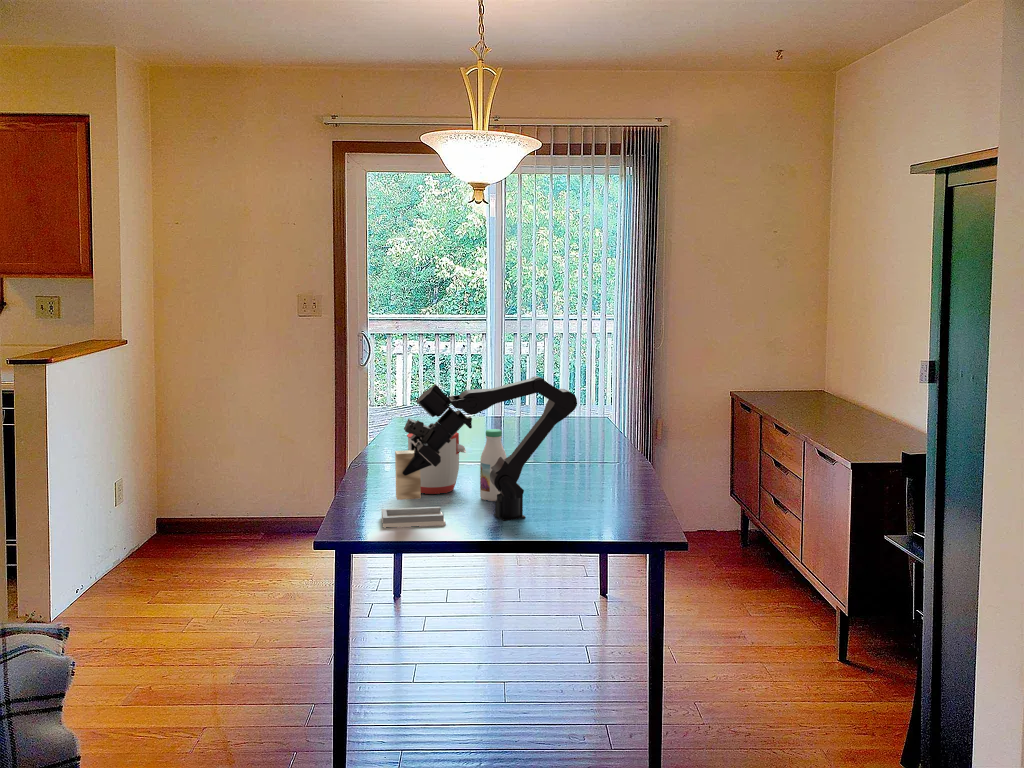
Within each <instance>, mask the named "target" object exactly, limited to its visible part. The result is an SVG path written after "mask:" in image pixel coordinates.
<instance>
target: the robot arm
mask: <svg viewBox="0 0 1024 768" xmlns="http://www.w3.org/2000/svg"><path fill="white" fill-rule="evenodd" d="M534 394H539V395H541V396H542V397H544V398H545V399H547V401H546V404H545V407H544V410H543V413H542V415H541V416H540V417H539V418H538V419H537V421H536V422H535V424H533V426H532V427H531V429H529V431H528V432H527V434H526V435H525V436H524V437H523V439H522V440H521V441H520V443H519V444H518V445H517V447H516V448H515V449H514V450H513V452H512V453H511V454H510V455H509V456H508V457H507V456H506V457H507V458H506V459H503V458H502V457H499V459H498V461H497V462H496V464H495V465H494V466H492V467H491V469H492V471H491V473H490V480H491V483H492V484H493V485H494V486H495V487H496V488H497V489H498V491H499V492H500V494H497V500H496V501H494V502H495V503H494V504H495V505H494V506H495V507H494V508H495V509H494V513H493V516H495V517H496V518H498V519H499V520H502V521H504V522H507V521H508V522H509V521H514V520H522V519H526V515H523V514H524V513H523V512H524V511H523V509H524V508H523V506H524V504H523V503H524V502H523V501H524V499H523V497H524V492H525V489H523V488H522V487H521V486H520V484H519V483H517V482H518V481H519V479H520V477H521V473H522V470H523V468H524V466H525V464H526V463H527V462H528V461H529V459H531V457H532V456H533V454H534V453H535V451H536V450H537V449H538V448H539V447H540V445H541V444H542V443H543V441H544V440H545V438H547V436H549V434H550V432H551V431H552V430H553V428H555V426H556V425H558V423H560V422H561V421H563V420H564V419H566V418H567V417H568V416H570V414H572V413H573V412H574V411H575V410H576V408H577V407H578V399H577V396H576V395H575V394H574V393H573V392H571V391H570V390H567V389H565V388H557V387H555V386H554V385H553V384H550V383H549V382H547V381H546V380H545V378H542V377H540V376H533V377H530V378H528V379H523V380H520V381H516V382H513V383H512V382H511V383H509V384H504V385H500V386H497V387H493V388H473V389H465V390H464V391H463V390H462V391H461V392H460V394H458V395H450V396H448V395H446V393H445V392H443V390H441V388H440V387H439V386H438V385H437V384H436V383H435V384H433V385H432V386H431V387H429V388H428V389H426V391H423V393H421V395H420V396H419V397H418V399H417V400H416V403H417V404H418V405H419V406H420V407H421V408H422V409H423V410H424V411H425V412H426V413H427V414H428V415H429V416H431V418H434V417H437V418H438V419H437V420H436V421H435V422H434V423H433V422H432V423H430V424H428V425H426V424H424V422H423V421H420V420H419V419H417V420H414V419H412V418H408V419H407V421H406V422H405V425H404V428H403V430H404V432H406V433H407V434H413V435H412V436H411V437H410V439H411V440H412V441H414V444H413V443H412V442H411V443H410V444H411V450H414V457H413V458H412V459H411V461H410V462H409V464H408V465H407V466H406V468H405V469H404V471H403V472H402V473H403V474H404V475H405V476H406V475H408V474H411V473H413V472H415V471H418V470H420V469H423V468H425V467H428V466H431V465H432V464H433V465H434V466H435V467H436V466H437V465H438V464H439V463H440V462H441V457H440V455H439V453H440V452H439V450H440V449H441V448H442V447H443V446H444V445H445V444H446V443H449V442H450V441H451V440H450V439H451V438H452V436H453V435H454V434H455V433H456V432H457V433H458V432H459V430H461V428H462V427H463V426H464V425H466V427H468V428H469V429H472V428H473V425H472V423H473V422H472V421H473V418H472V417H471V416H473V415H476V414H479V413H481V412H483V411H486V410H487V409H489V408H490V407H492V406H494V405H496V404H499V403H502V402H504V403H505V402H507V401H510V400H515V399H519V398H522V397H527V396H531V395H534ZM450 404H451V405H452V407H454V408H455V409H457V410H456V411H455V409H453V408H452V407H451V406H450ZM461 410H462V411H463V412H464V413H466V414H468V415H471V416H466V415H465V414H464V413H463V412H462V411H461ZM431 463H432V464H431Z"/></svg>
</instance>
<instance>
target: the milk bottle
mask: <svg viewBox="0 0 1024 768" xmlns="http://www.w3.org/2000/svg"><path fill="white" fill-rule="evenodd" d="M502 435H503V432H502V430H501V429H498V428H497V429H496V428H492V429H491V428H490V429H486V430H485V438H486V442H485V445H484V448H483V450H482V452H481V455H480V467H479V477H480V481H479V485H480V488H479V492H480V493H479V496H480V499H481V500H483V501H486V500H488V502H495V501H496V500H497V494H500V492H499V491H498V489H497V488H496V487H495V486H494V485H493V484H492V483H491V480H490V473H491V471H492V469H491V467H492V466H494V465H495V464H496V462H497V461H498V459H499V457H502V458H503V459H506V458H507V454H506V450H505V448H504V446H503V443H502V438H503V437H502Z"/></svg>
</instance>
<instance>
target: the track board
mask: <svg viewBox="0 0 1024 768" xmlns="http://www.w3.org/2000/svg"><path fill="white" fill-rule="evenodd" d="M441 509H442V507H441V506H423V507H404V508H401V507H400V508H396V507H395V508H381V522H382V523H383V524H382V528H383V527H384V528H383V529H387V528H386V527H397V528H412V527H411V526H419V527H435V526H436V527H437V526H441V527H442V526H446V518H445V517H444V514H443V512H442V510H441Z"/></svg>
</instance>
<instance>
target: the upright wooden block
mask: <svg viewBox="0 0 1024 768" xmlns="http://www.w3.org/2000/svg"><path fill="white" fill-rule="evenodd" d="M394 457H395V458H394V459H395V461H394V463H395V464H394V465H395V497H396V500H397V501H399V500H400V501H401V500H419V499H420V500H421V498H422V495H421V479H420V470H418V471H415V472H413V473H411V474H408V475H406V476H405V475H404V474H403V473H402V472H403V471H404V469H405V468H406V466H407V465H408V464H409V462H410V461H411V459H412V458H413V457H414V450H408V449H407V450H406V449H405V450H394Z"/></svg>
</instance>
